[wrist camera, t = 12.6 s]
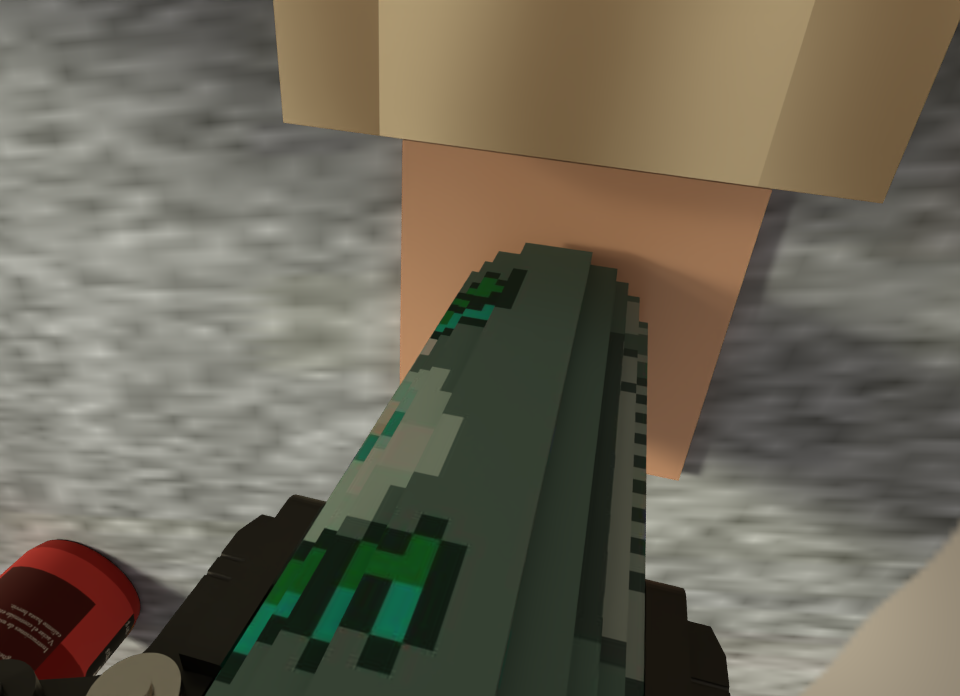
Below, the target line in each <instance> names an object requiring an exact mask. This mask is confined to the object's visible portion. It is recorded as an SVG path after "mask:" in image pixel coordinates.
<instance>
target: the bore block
mask: <svg viewBox="0 0 960 696" xmlns="http://www.w3.org/2000/svg"><path fill="white" fill-rule="evenodd" d="M273 5H274V17H275V29H276V41H277V52H278V64H279V76H280V88H281V100H282V112H283V123H290V124H297V125H305V126H312V127H319V128H327V129H334V130H342V131H349V132H356V133H364V134H371V135H379V136H386V137H394V138H401V139H408V140H416V141H423V142H431V143H438V144H446V145H453V146H460V147H468V148H475V149H483V150H490V151H497V152H505V153H512V154H520V155H527V156H535V157H542V158H549V159H557V160H564V161H572V162H579V163H586V164H594V165H601V166H609V167H616V168H624V169H631V170H638V171H646V172H653V173H661V174H668V175H675V176H683V177H690V178H698V179H705V180H713V181H720V182H727V183H735V184H742V185H750V186H757V187H764V188H772V189H779V190H787V191H794V192H802V193H809V194H816V195H824V196H831V197H839V198H846V199H853V200H861V201H868V202H876V203H883V201H884V199H885V197H886V194H887V192H888V190H889V187H890V185H891V182H892V180H893V178H894V175H895V173H896V170H897V168H898V166H899V163H900V161H901V159H902V156H903V154H904V151H905V149H906V147H907V144H908V142H909V140H910V137H911V135H912V132H913V130H914V128H915V125H916V123H917V120H918V118H919V116H920V113H921V111H922V109H923V106H924V104H925V101H926V99H927V97H928V94H929V92H930V90H931V87H932V85H933V82H934V80H935V78H936V75H937V73H938V70H939V68H940V66H941V63H942V61H943V59H944V56H945V54H946V51H947V49H948V47H949V44H950V42H951V40H952V37H953V35H954V32H955V30H956V28H957V25H958V23H959V21H960V0H273Z"/></svg>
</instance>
